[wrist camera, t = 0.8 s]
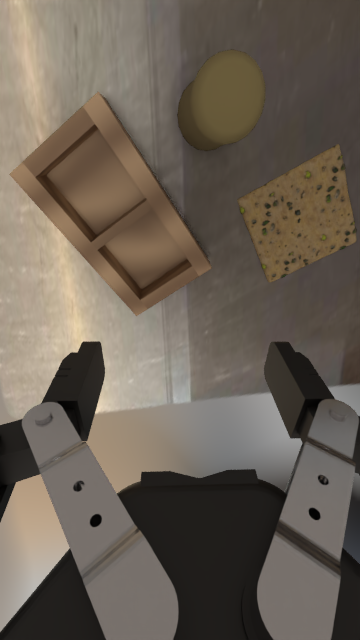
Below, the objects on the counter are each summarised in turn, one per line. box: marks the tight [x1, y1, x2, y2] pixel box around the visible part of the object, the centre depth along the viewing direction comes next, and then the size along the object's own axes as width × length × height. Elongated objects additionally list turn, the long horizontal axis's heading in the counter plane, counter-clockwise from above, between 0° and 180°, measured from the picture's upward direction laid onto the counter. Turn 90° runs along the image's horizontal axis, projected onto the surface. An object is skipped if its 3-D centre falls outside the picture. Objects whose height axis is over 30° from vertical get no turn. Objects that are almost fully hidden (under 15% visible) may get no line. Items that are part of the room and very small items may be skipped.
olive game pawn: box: [177, 50, 265, 151], centre depth 23 cm, size 6×6×11 cm
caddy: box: [10, 92, 212, 316], centre depth 31 cm, size 19×11×4 cm, turn 34°
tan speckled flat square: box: [237, 144, 357, 282], centre depth 33 cm, size 12×12×1 cm
